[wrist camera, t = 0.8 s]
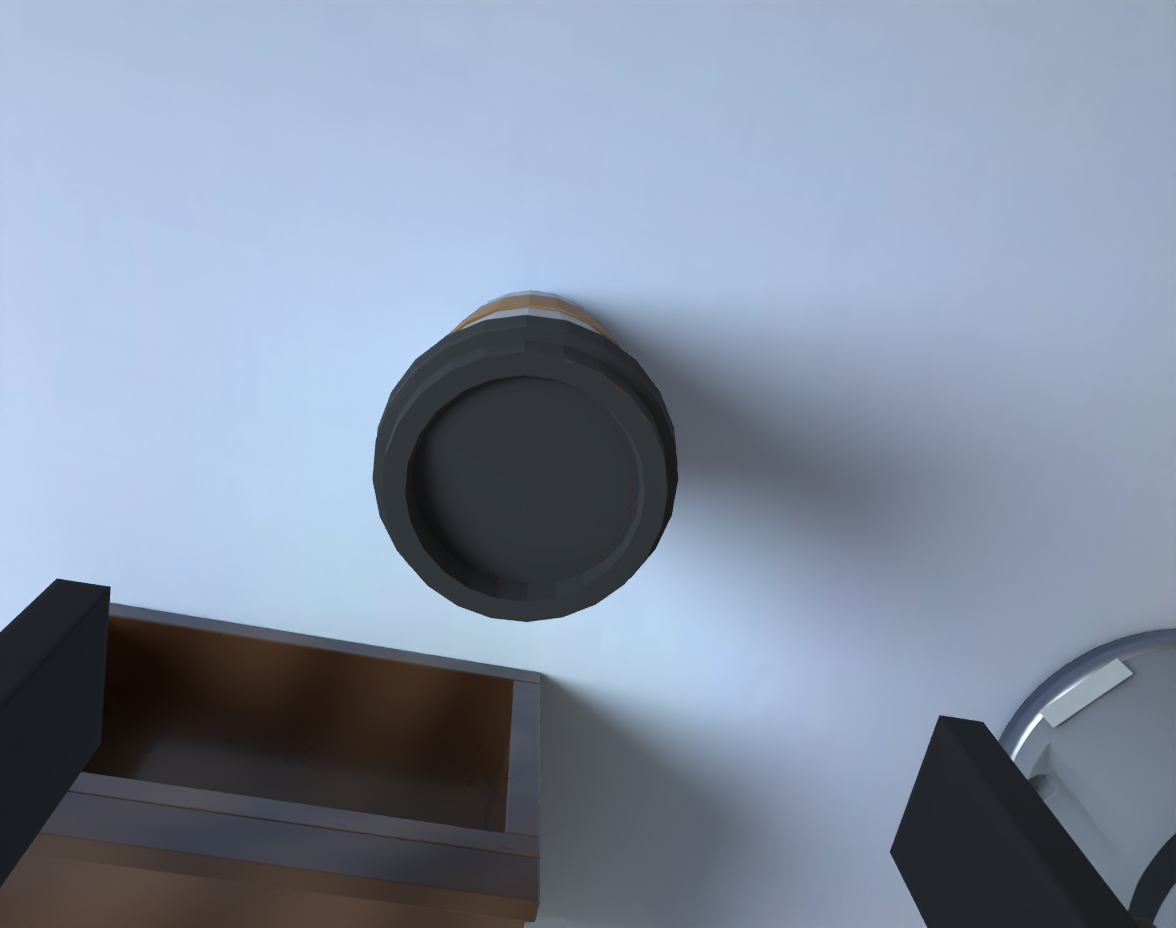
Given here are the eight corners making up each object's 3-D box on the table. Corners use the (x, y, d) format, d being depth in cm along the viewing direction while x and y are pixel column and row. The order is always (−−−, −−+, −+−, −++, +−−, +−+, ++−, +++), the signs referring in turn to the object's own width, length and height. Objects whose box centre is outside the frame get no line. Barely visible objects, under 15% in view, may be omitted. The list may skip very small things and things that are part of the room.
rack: (540, 672, 44) (539, 902, 30) (489, 910, 47) (468, 1208, 34) (72, 596, 42) (-150, 807, 28) (57, 851, 45) (-146, 1143, 32)
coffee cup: (569, 503, 41) (583, 689, 27) (389, 406, 40) (303, 549, 25) (675, 331, 39) (751, 434, 25) (491, 221, 38) (459, 264, 23)
